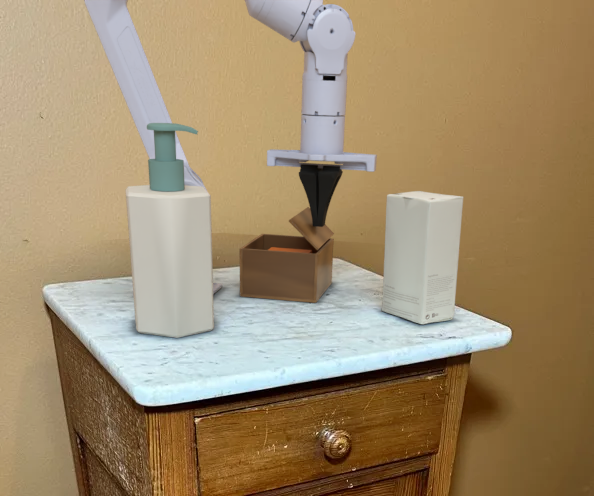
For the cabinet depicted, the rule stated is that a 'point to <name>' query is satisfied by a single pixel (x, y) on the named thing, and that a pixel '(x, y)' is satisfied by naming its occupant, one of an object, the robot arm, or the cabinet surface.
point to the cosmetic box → (421, 255)
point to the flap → (310, 229)
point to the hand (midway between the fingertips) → (318, 225)
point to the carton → (285, 269)
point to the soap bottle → (170, 245)
